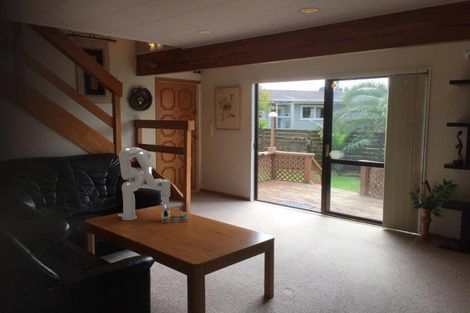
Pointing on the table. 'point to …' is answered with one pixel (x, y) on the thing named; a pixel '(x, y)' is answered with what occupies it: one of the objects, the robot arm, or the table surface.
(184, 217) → the channel board
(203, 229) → the table surface
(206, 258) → the table surface
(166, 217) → the cream block
